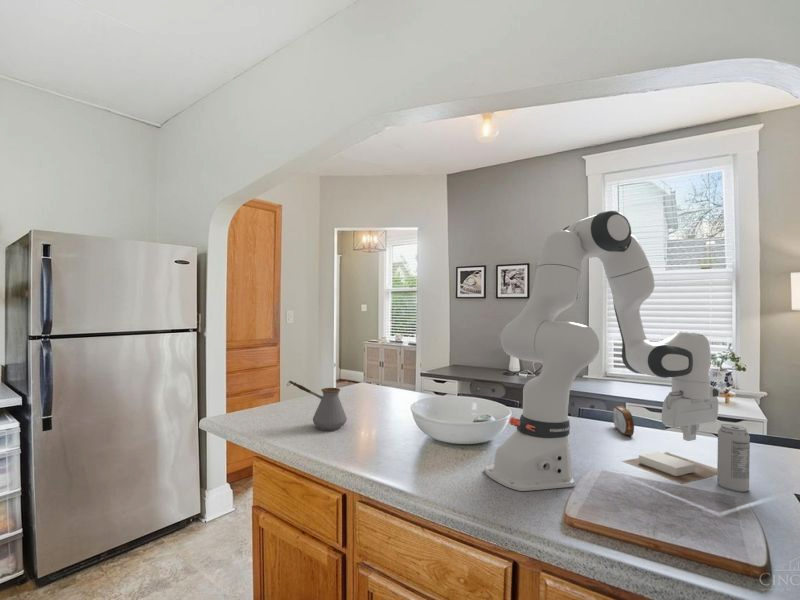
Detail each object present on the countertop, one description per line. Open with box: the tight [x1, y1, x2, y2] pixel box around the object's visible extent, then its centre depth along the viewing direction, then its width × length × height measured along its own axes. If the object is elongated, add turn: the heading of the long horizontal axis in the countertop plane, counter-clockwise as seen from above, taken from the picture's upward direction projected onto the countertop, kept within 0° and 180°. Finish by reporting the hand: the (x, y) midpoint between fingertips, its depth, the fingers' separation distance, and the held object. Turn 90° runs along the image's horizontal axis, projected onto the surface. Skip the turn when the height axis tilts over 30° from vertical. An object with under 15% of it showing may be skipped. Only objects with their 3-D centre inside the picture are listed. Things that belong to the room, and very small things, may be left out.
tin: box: [612, 405, 635, 437], centre depth 147 cm, size 15×3×8 cm, turn 168°
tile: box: [638, 451, 695, 476], centre depth 111 cm, size 2×10×8 cm
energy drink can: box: [716, 423, 751, 493], centre depth 100 cm, size 6×6×15 cm
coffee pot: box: [286, 380, 348, 432], centre depth 142 cm, size 21×12×15 cm, turn 81°
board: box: [621, 452, 717, 485], centre depth 113 cm, size 20×16×1 cm
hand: (689, 440), depth 116 cm, fingers closed
